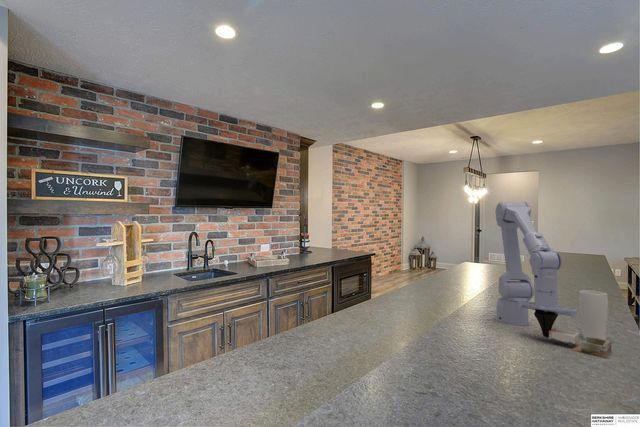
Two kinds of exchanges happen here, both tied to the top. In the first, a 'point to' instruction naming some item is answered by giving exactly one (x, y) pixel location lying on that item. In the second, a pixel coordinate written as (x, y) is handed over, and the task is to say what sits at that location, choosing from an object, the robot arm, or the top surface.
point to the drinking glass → (593, 313)
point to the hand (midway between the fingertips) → (546, 336)
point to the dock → (594, 347)
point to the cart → (563, 336)
